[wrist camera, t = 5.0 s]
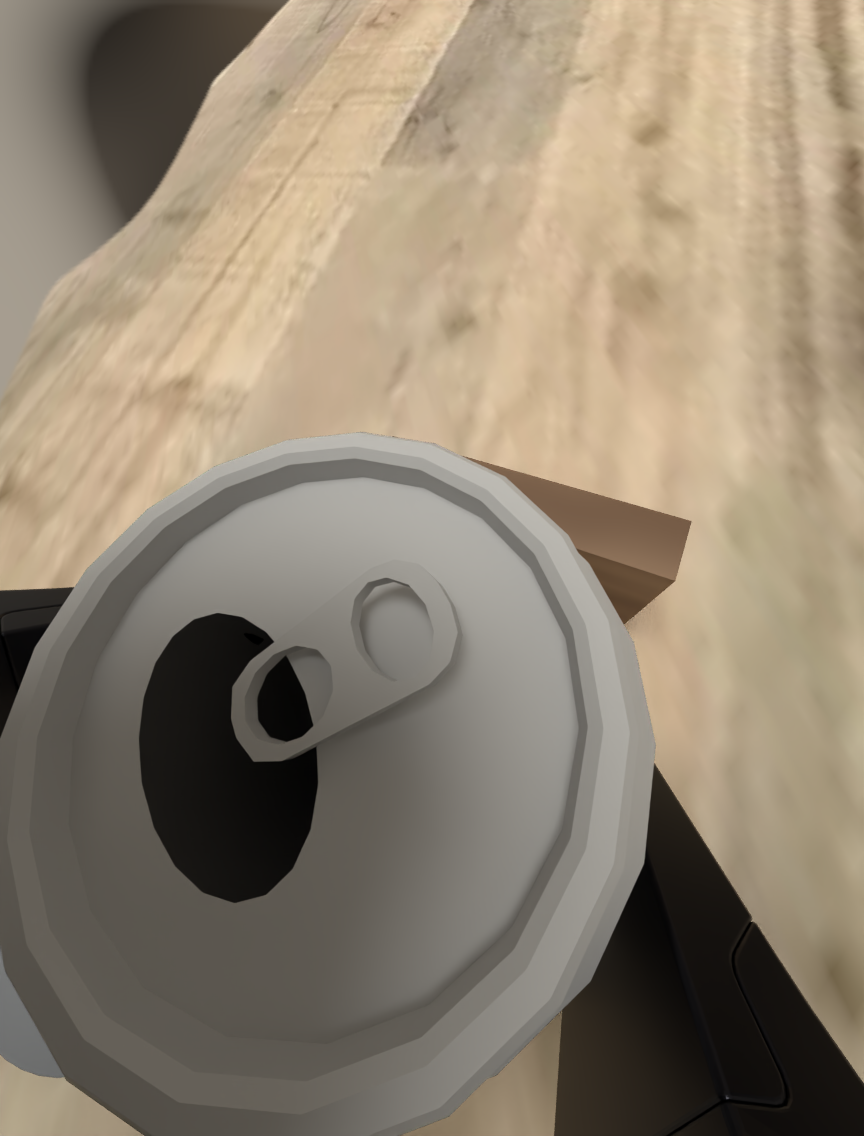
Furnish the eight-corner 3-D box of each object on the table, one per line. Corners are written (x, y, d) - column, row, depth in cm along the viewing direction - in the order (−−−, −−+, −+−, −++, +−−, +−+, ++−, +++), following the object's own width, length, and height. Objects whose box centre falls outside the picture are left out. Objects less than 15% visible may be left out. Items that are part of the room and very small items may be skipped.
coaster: (221, 1068, 13) (213, 1078, 13) (-71, 1068, 14) (-86, 1076, 14) (255, 712, 17) (250, 711, 17) (29, 732, 18) (20, 732, 18)
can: (309, 684, 16) (-94, 555, 5) (475, 593, 16) (445, 296, 5) (389, 898, 13) (-206, 1826, 2) (589, 776, 13) (1038, 935, 2)
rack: (513, 959, 13) (528, 1120, 8) (271, 805, 16) (155, 842, 10) (628, 589, 17) (691, 521, 12) (419, 518, 20) (392, 436, 14)
